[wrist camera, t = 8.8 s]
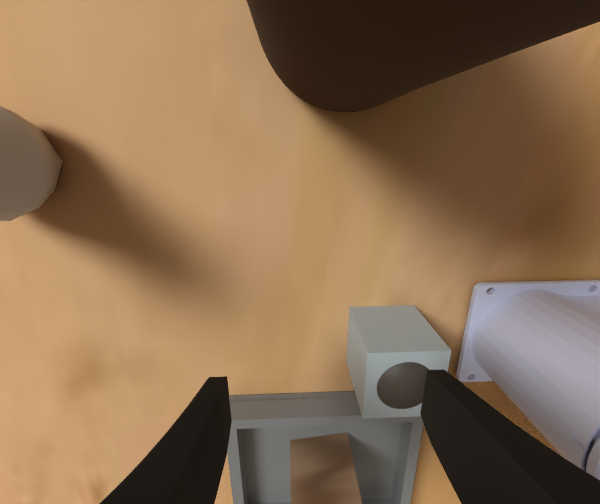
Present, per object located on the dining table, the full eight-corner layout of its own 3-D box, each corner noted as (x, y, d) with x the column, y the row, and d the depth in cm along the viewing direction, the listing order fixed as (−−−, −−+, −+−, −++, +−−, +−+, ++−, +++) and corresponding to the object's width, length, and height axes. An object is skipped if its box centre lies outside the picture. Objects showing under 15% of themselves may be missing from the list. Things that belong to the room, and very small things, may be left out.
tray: (412, 389, 23) (425, 412, 20) (397, 495, 26) (406, 524, 24) (229, 395, 22) (223, 420, 20) (241, 502, 26) (237, 533, 24)
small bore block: (347, 432, 23) (362, 505, 18) (351, 472, 24) (367, 550, 20) (290, 440, 23) (290, 515, 18) (298, 479, 24) (300, 559, 20)
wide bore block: (413, 304, 20) (452, 351, 16) (406, 358, 22) (439, 416, 17) (349, 306, 20) (368, 353, 15) (346, 360, 22) (362, 419, 17)
